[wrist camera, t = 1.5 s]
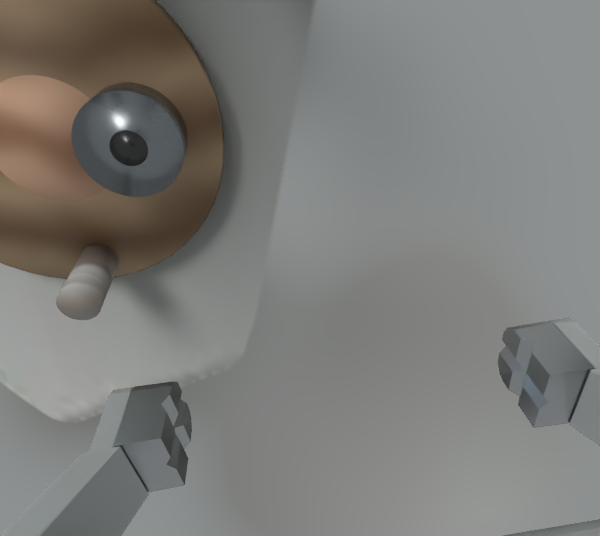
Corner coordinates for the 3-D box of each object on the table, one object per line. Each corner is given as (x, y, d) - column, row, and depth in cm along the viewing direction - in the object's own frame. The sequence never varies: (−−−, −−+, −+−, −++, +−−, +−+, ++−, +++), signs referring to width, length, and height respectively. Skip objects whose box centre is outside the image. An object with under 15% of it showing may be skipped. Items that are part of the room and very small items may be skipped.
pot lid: (68, 87, 28) (52, 98, 25) (174, 77, 28) (169, 87, 26) (104, 185, 32) (93, 202, 29) (196, 174, 32) (193, 191, 30)
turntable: (-241, -54, 24) (-421, -65, 17) (186, -85, 25) (170, -106, 19) (-23, 282, 38) (-77, 346, 31) (244, 248, 39) (246, 303, 33)
